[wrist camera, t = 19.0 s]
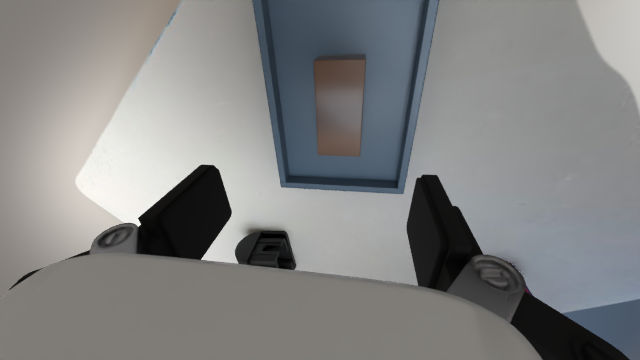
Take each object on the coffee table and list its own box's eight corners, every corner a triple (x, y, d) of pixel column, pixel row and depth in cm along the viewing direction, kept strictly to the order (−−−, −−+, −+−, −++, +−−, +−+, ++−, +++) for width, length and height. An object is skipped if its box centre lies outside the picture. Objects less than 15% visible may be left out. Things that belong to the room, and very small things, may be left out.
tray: (258, -22, 22) (248, -27, 20) (438, -36, 20) (447, -43, 18) (285, 177, 33) (280, 187, 31) (400, 183, 31) (403, 194, 29)
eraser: (321, 55, 24) (313, 60, 20) (365, 53, 23) (366, 58, 20) (323, 138, 29) (317, 155, 25) (360, 139, 28) (360, 157, 24)
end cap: (246, 228, 40) (227, 260, 35) (285, 228, 39) (272, 262, 33) (261, 266, 46) (247, 300, 40) (297, 268, 44) (287, 303, 38)
